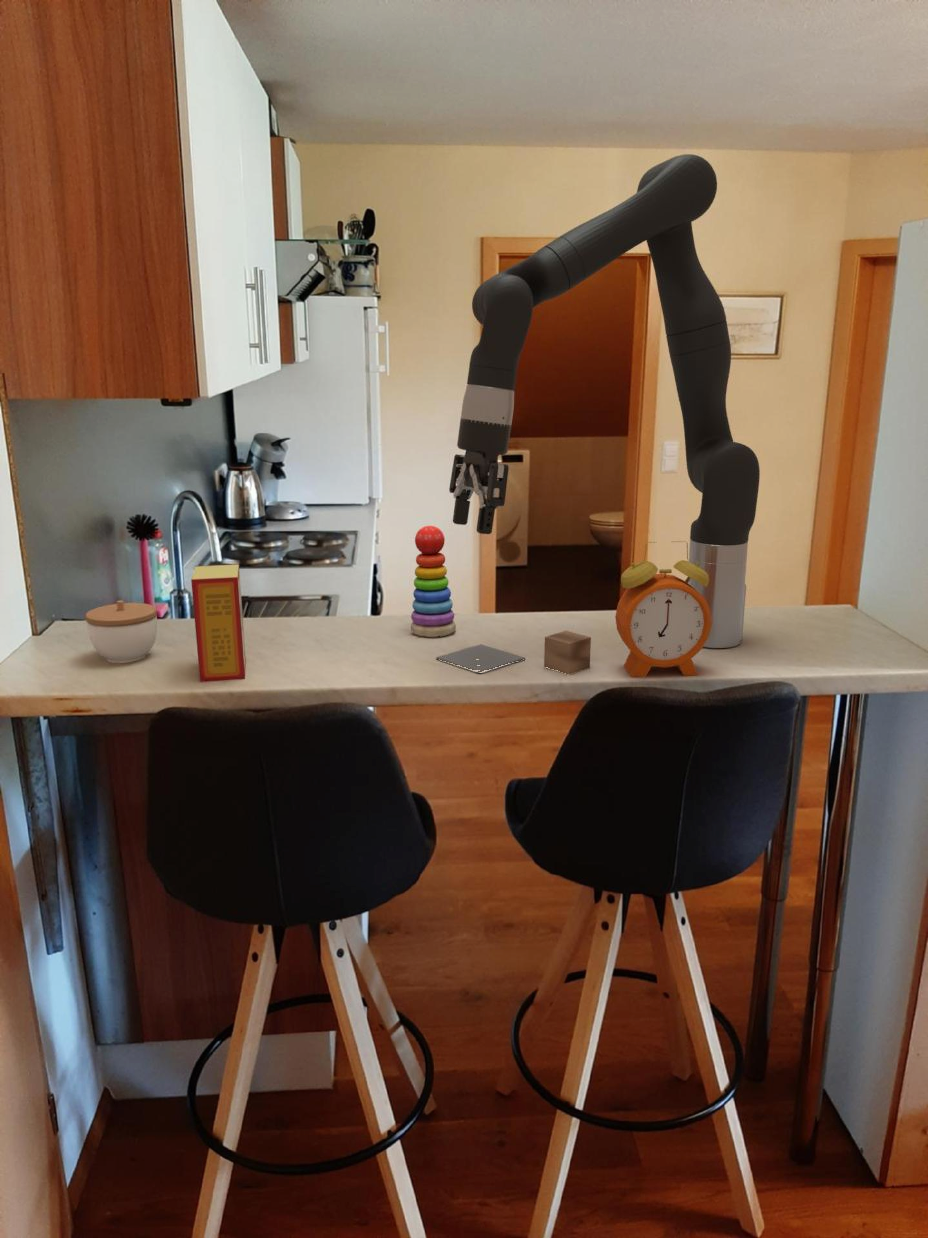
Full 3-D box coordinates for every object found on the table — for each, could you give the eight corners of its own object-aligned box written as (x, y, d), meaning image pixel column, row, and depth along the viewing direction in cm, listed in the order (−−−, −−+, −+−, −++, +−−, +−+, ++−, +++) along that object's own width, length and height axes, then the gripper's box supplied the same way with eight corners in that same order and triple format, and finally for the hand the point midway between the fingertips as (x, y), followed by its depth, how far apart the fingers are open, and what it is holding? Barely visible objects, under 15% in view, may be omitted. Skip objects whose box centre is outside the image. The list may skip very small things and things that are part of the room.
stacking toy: (458, 626, 167) (457, 522, 162) (453, 639, 160) (452, 530, 154) (414, 625, 168) (412, 521, 163) (407, 638, 160) (404, 530, 155)
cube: (565, 660, 148) (566, 630, 147) (589, 668, 145) (590, 637, 143) (544, 667, 145) (544, 637, 144) (568, 675, 141) (569, 643, 140)
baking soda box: (203, 662, 148) (195, 563, 144) (245, 659, 149) (238, 561, 145) (200, 682, 139) (191, 577, 135) (245, 678, 140) (237, 575, 136)
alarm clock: (622, 678, 140) (627, 546, 134) (613, 665, 145) (618, 538, 140) (709, 676, 140) (718, 545, 135) (696, 663, 146) (704, 537, 141)
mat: (481, 646, 155) (481, 644, 155) (525, 659, 148) (525, 657, 148) (436, 659, 149) (436, 657, 149) (479, 674, 142) (479, 671, 142)
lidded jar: (111, 672, 144) (104, 613, 141) (78, 658, 151) (71, 602, 148) (173, 656, 151) (168, 600, 149) (139, 643, 158) (134, 589, 156)
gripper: (531, 425, 132) (515, 538, 136) (487, 419, 145) (473, 522, 148) (484, 419, 129) (468, 535, 133) (443, 413, 141) (430, 519, 145)
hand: (471, 528), depth 140 cm, fingers open, 8 cm apart
